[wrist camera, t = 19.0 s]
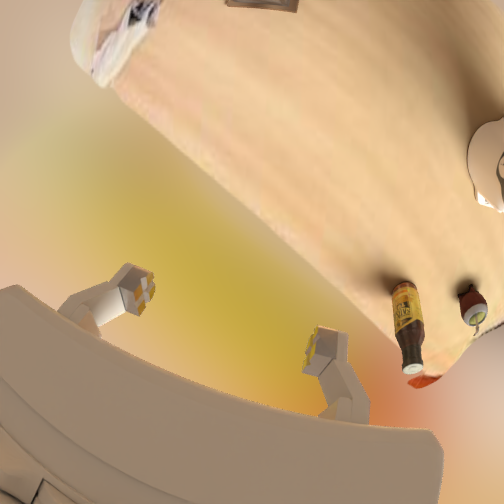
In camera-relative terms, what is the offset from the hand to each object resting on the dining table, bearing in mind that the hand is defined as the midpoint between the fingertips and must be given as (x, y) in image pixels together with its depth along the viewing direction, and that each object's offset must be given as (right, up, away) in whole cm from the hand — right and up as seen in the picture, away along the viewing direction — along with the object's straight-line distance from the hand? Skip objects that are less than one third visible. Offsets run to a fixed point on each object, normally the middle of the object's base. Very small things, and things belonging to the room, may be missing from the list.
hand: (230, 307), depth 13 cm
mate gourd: (+52, -7, +36) cm, 63 cm away
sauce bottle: (+35, -6, +41) cm, 54 cm away
